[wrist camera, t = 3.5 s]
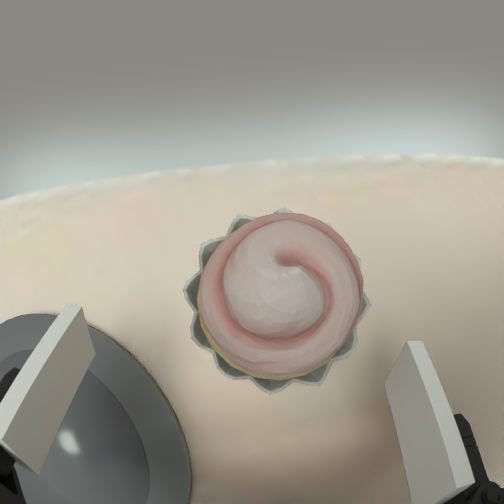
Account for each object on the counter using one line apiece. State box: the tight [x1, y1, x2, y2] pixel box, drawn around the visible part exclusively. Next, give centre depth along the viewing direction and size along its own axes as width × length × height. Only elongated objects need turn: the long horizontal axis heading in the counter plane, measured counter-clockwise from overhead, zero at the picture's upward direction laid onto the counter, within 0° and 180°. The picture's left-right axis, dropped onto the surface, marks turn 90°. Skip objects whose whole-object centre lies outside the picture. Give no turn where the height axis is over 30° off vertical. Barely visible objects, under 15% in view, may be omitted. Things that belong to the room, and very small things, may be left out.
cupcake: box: [183, 208, 371, 395], centre depth 15 cm, size 9×9×10 cm
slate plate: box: [0, 314, 191, 504], centre depth 16 cm, size 20×20×1 cm
